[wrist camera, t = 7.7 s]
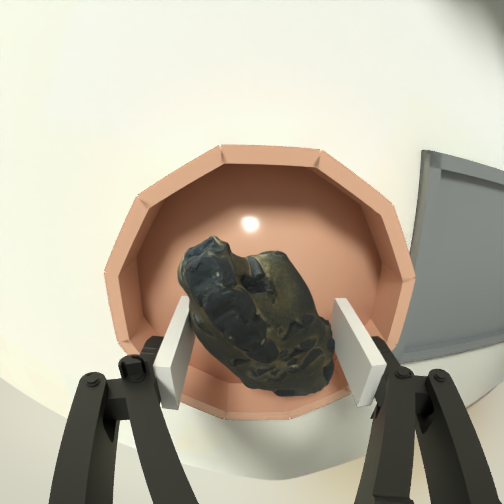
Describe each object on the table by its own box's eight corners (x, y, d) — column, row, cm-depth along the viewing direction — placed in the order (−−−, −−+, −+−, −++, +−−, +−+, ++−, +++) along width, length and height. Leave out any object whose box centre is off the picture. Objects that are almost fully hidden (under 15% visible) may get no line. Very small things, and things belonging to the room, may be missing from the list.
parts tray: (421, 150, 19) (430, 150, 17) (546, 188, 19) (553, 190, 18) (383, 357, 24) (387, 365, 23) (510, 333, 25) (515, 337, 24)
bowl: (121, 151, 18) (94, 151, 14) (401, 162, 19) (432, 165, 15) (148, 379, 25) (137, 410, 21) (359, 381, 25) (372, 410, 21)
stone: (274, 397, 21) (280, 453, 16) (154, 264, 17) (123, 310, 12) (354, 355, 20) (378, 407, 14) (251, 197, 16) (254, 220, 11)
